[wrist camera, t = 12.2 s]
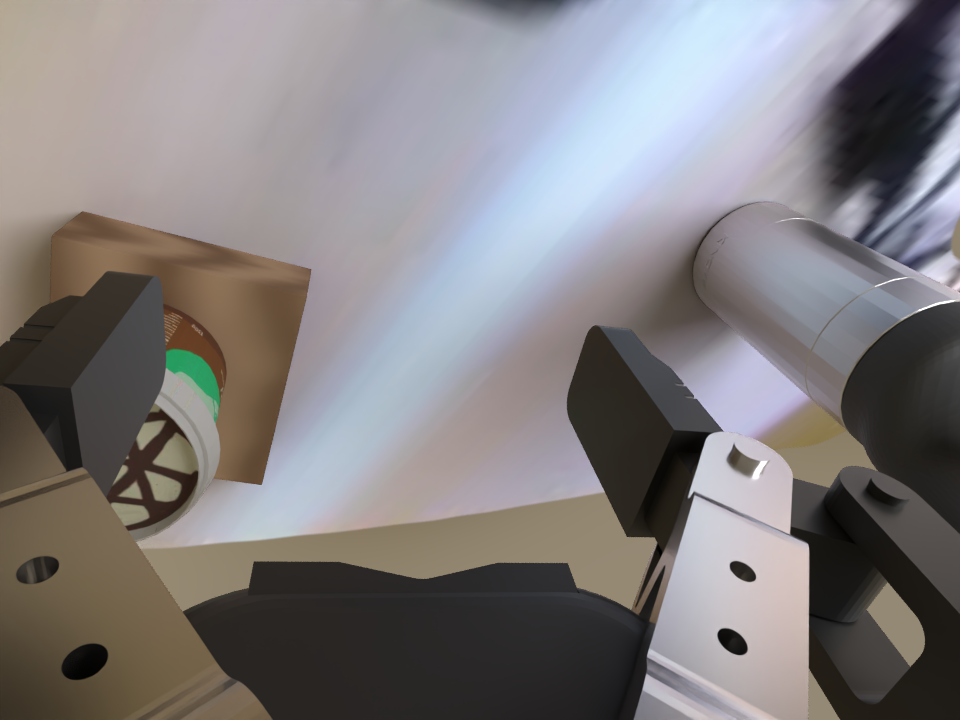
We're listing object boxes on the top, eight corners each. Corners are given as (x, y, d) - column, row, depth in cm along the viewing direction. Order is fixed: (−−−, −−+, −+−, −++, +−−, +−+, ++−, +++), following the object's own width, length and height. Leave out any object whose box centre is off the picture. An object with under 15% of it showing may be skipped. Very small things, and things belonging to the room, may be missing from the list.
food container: (228, 455, 43) (193, 567, 34) (133, 439, 41) (72, 552, 33) (262, 305, 38) (231, 394, 29) (155, 278, 36) (88, 364, 27)
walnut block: (311, 266, 42) (306, 296, 38) (270, 443, 49) (261, 484, 45) (86, 208, 38) (51, 235, 34) (75, 411, 45) (46, 455, 41)
